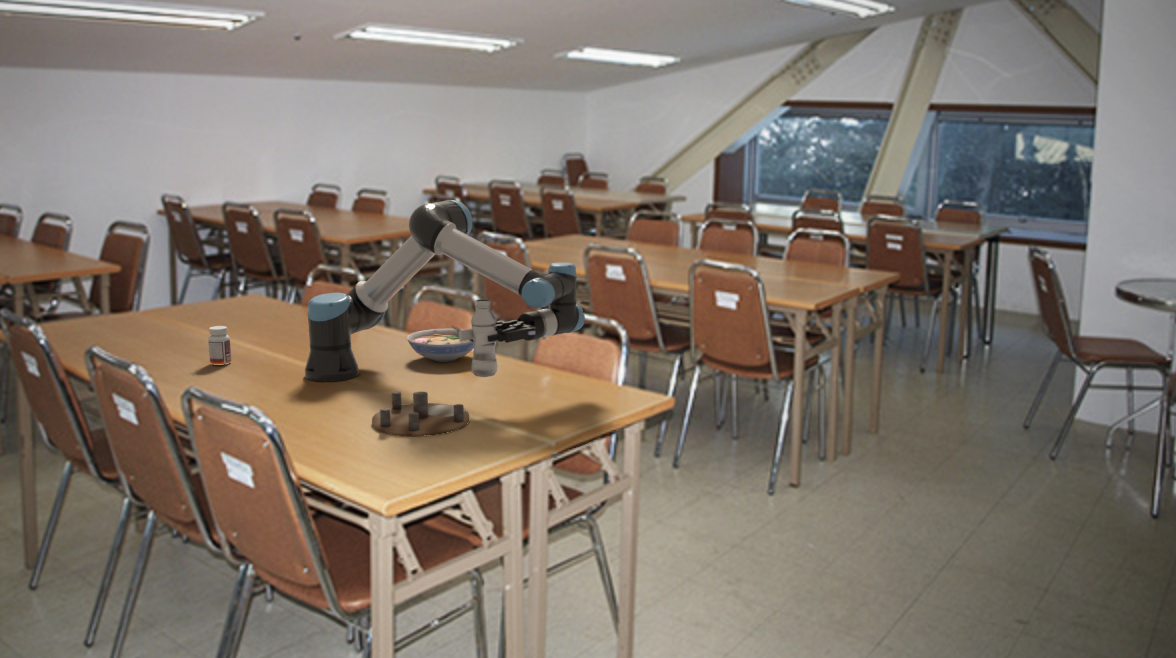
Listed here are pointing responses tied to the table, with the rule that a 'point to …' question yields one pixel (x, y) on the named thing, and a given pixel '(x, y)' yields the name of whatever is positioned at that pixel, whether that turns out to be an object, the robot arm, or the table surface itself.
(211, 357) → the pill bottle
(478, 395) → the table surface
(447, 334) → the ramen bowl
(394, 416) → the board
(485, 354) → the plastic bottle
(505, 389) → the table surface
